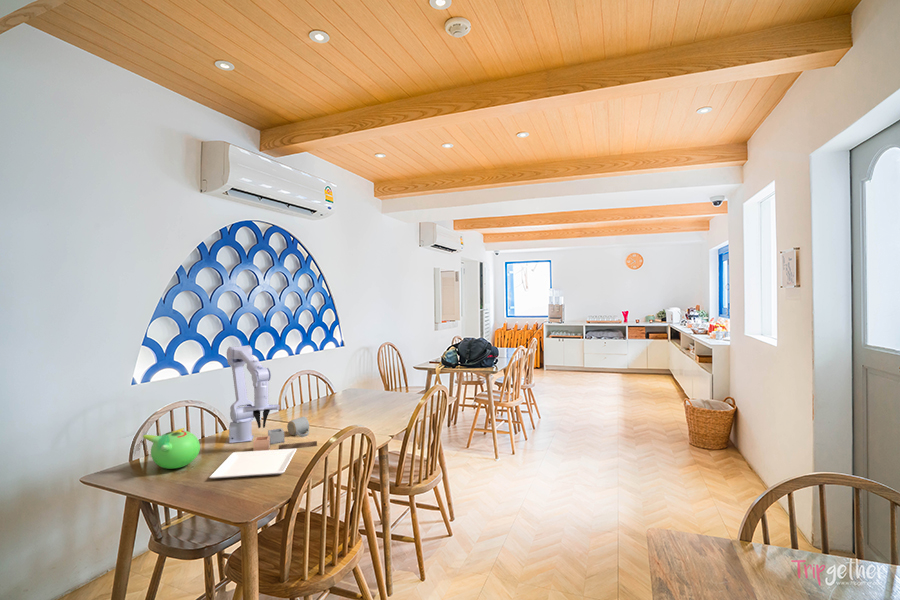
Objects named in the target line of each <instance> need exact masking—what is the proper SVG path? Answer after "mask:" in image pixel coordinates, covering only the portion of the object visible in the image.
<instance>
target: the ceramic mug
mask: <svg viewBox="0 0 900 600" xmlns="http://www.w3.org/2000/svg"><path fill="white" fill-rule="evenodd" d="M287 431H288V433H289V434H290V435H291V436H299V437H302V438H303V437H307V436H308V435H309V433H310V422H309V420H308V418H307V417H306V416H301V417H298V418H297V417H296V418H295V419H292V420H289V422H288V423H287Z"/></svg>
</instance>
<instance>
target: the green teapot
mask: <svg viewBox="0 0 900 600" xmlns="http://www.w3.org/2000/svg"><path fill="white" fill-rule="evenodd" d="M185 429H186V427H182V428H178V429H175V430H173V431H169V432H166V433H163V434H162V435H152V434H151V435H150V434H144V435H143V436H142V438H143V439H145V440H147V441H148V442H151V443H152V445H151V447H150V456H151V460H152V462H154V463H155V465H157V466H159V467H160V468H163V469H180V468H183V467H186V466H187V465H190V463H192V462H193V461H194V460H195V459H196V458H197V457H198V456H199V454H200V450H201V444H200V441H199V439H198V437H197V436H196V435H195V434H194V433H192V432H190V431H188V430H185Z"/></svg>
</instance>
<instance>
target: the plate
mask: <svg viewBox="0 0 900 600" xmlns="http://www.w3.org/2000/svg"><path fill="white" fill-rule="evenodd" d="M297 449H298V448H292V449H280V450H279V449H269V450H263V451H254V450H250V451H234V452H232V453H231V454H230V455H228V457H227V458H226V459H225V460H224V461H223V462H222V463H221V464H220V465H219V466H218V467H217V468H216V470H214V472H213V473H211V475H210V476H209V478H210V479H229V478H239V477H240V478H241V477H242V478H243V477H245V478H246V477H258V476H270V475H271V476H275V475H281V474H284V473H285V471H286V469H287V467H288V466H289V464H290V462H291V460H292V459H293V457H294V455H295V453H296V451H297Z"/></svg>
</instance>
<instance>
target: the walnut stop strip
mask: <svg viewBox="0 0 900 600" xmlns="http://www.w3.org/2000/svg"><path fill="white" fill-rule="evenodd" d="M307 447H308V448H309V447H318V440H315V441H304V442H293V443H287V444H286V443H283V444H278V450H280V449H300V448H307Z"/></svg>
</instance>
